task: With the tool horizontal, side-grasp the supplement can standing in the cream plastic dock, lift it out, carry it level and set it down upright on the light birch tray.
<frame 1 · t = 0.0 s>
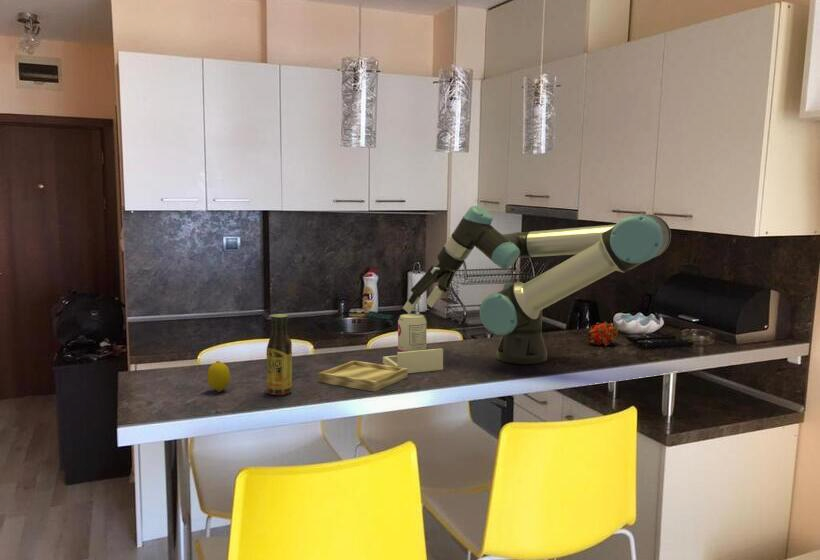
hand: (417, 307, 203), 15 cm above the table, tool tilted 35°, fingers open, 13 cm apart
sauce bottle: (279, 393, 166), on the table
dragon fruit: (602, 345, 221), on the table
tray: (363, 379, 179), on the table
dock: (412, 366, 193), on the table
supplement can: (412, 367, 193), resting in dock
lemon: (219, 392, 167), on the table
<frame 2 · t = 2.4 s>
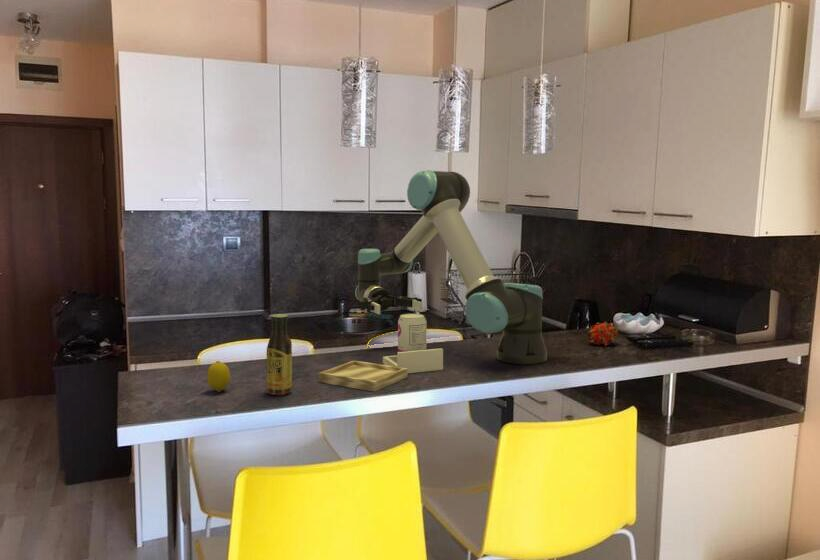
hand: (400, 308, 200), 16 cm above the table, tool horizontal, fingers open, 13 cm apart
nothing on the table moved.
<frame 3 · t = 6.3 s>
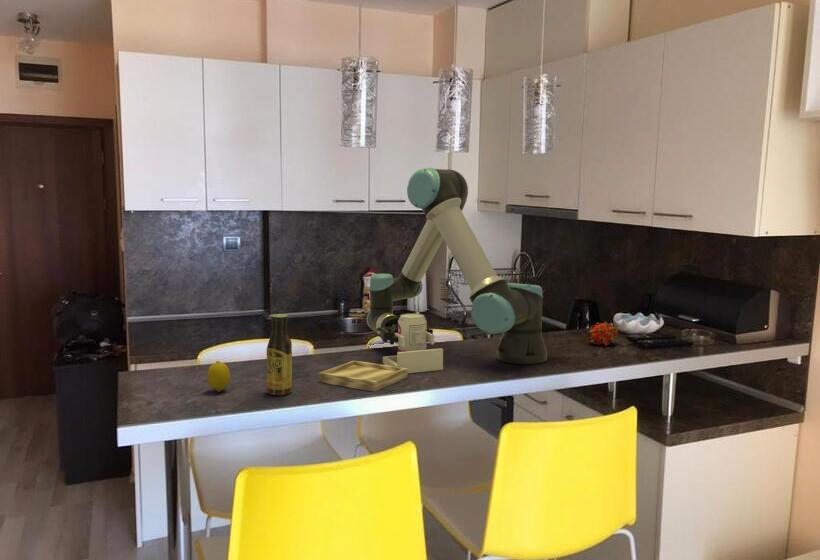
hand: (418, 340, 187), 9 cm above the table, tool horizontal, fingers closed on supplement can, 8 cm apart
supplement can: (412, 367, 193), resting in dock, touching gripper
everything else where it was.
when the fingers open (11 cm above the table, at t = 11.1 s): supplement can drops 1 cm, resting on tray.
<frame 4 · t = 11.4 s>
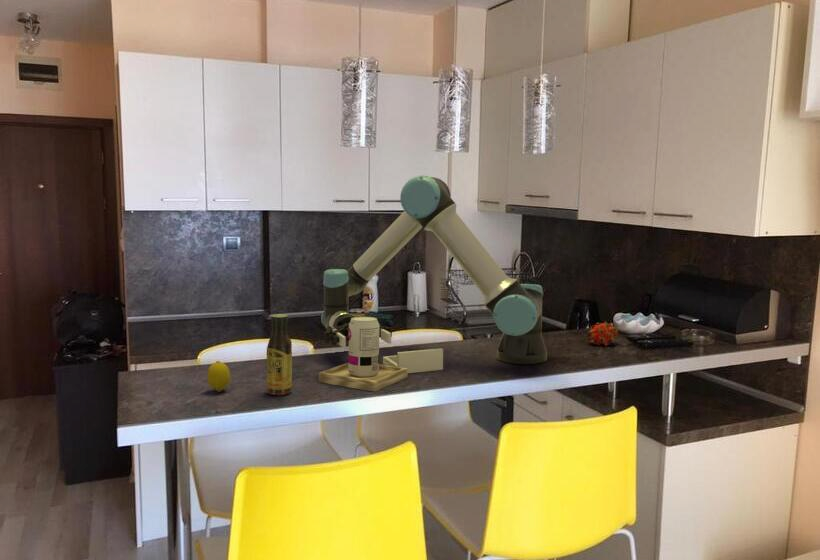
hand: (367, 340, 174), 11 cm above the table, tool horizontal, fingers open, 12 cm apart
supplement can: (363, 374, 179), point 1 cm above the table, touching tray
everything else where it was.
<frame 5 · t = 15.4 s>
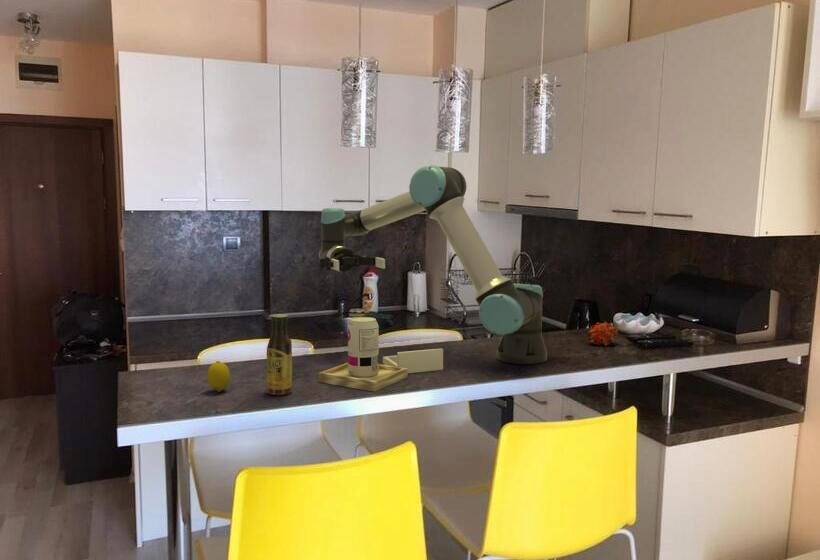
hand: (361, 264, 187), 30 cm above the table, tool horizontal, fingers open, 13 cm apart
nothing on the table moved.
at the end: supplement can inside the target area on the tray (0.1 cm from its centre), point 1.3 cm above the tray's base; supplement can tilted 0°; the gripper is holding nothing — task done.
